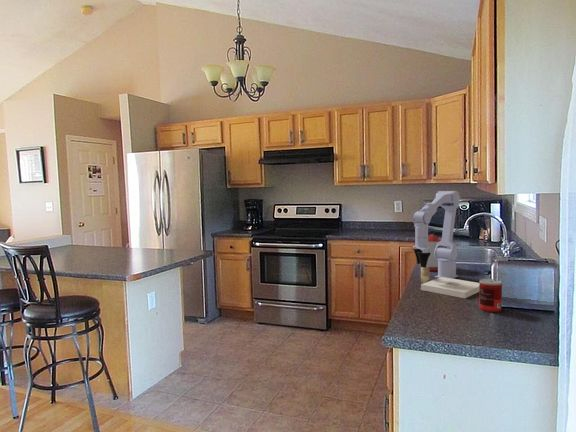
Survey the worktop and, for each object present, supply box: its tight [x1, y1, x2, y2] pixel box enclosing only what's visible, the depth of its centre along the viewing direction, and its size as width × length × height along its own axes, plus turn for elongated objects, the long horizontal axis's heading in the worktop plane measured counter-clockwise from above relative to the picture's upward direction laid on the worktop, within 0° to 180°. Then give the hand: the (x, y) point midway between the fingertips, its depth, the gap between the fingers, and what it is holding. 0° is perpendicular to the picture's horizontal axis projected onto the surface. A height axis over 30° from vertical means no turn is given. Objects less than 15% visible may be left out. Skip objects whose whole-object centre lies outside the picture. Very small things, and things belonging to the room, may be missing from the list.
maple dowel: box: [420, 266, 431, 284], centre depth 195 cm, size 4×4×8 cm
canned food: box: [478, 278, 503, 313], centre depth 153 cm, size 8×8×11 cm
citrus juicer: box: [419, 233, 446, 272], centre depth 226 cm, size 16×17×20 cm
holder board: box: [420, 277, 480, 299], centre depth 182 cm, size 20×20×2 cm
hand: (421, 265), depth 190 cm, fingers open, 7 cm apart
